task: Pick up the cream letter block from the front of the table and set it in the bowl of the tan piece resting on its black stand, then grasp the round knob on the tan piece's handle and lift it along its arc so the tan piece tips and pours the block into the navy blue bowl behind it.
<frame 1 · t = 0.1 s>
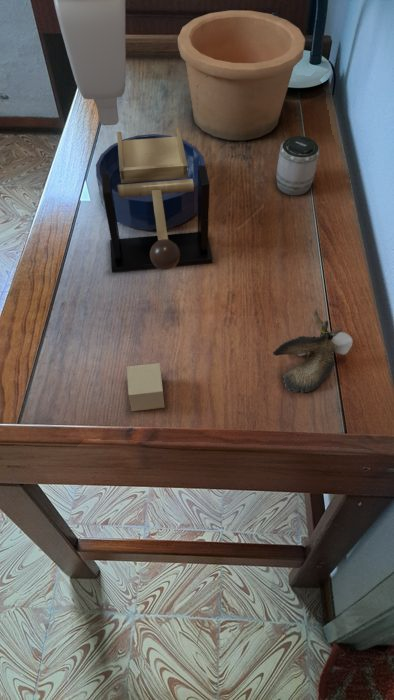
hand: (107, 94, 51), 28 cm above the table, tool pointing down, fingers open, 8 cm apart
tan piece: (157, 196, 67), point 12 cm above the table, hinge at 0.0°
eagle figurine: (306, 364, 66), on the table
stand: (160, 253, 77), on the table
navy blue bowl: (153, 196, 85), on the table
camera lens: (292, 186, 87), on the table
pottery: (235, 117, 99), on the table
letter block: (147, 395, 63), on the table
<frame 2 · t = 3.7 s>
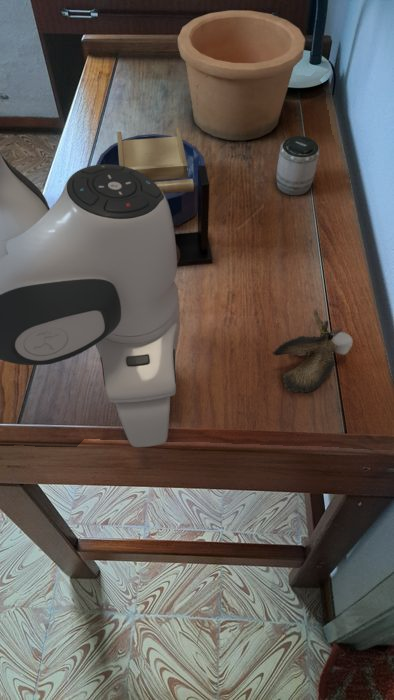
hand: (145, 389, 62), 2 cm above the table, tool pointing down, fingers closed on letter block, 4 cm apart
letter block: (147, 395, 63), on the table, touching gripper
everything else where it was.
when the fingers open (14 cm above the table, at t = 9.6 s): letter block stays where it is, resting on tan piece.
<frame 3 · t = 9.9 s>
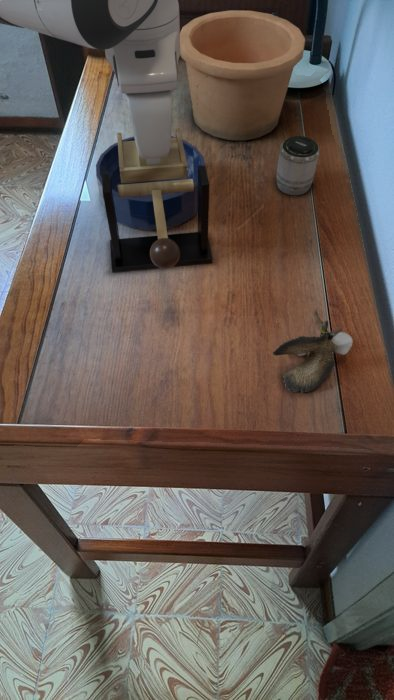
hand: (150, 146, 70), 14 cm above the table, tool pointing down, fingers open, 5 cm apart
tan piece: (156, 195, 67), point 12 cm above the table, hinge at 0.9°, touching gripper, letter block
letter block: (152, 157, 71), point 12 cm above the table, touching tan piece
everything else where it was.
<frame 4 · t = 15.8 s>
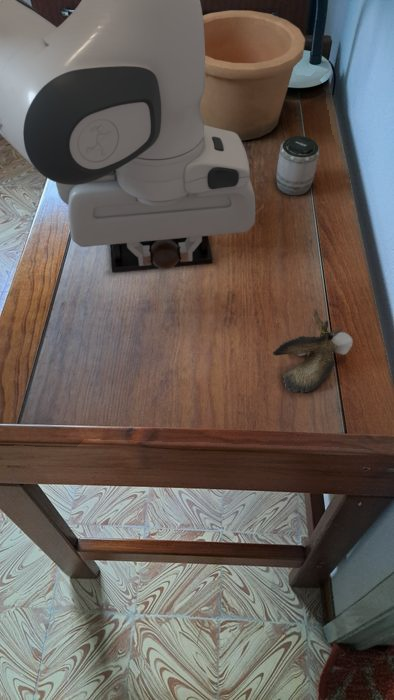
hand: (165, 259, 61), 11 cm above the table, tool pointing down, fingers closed on tan piece, 3 cm apart
tan piece: (156, 196, 67), point 12 cm above the table, hinge at 0.6°, touching gripper, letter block
everything else where it was.
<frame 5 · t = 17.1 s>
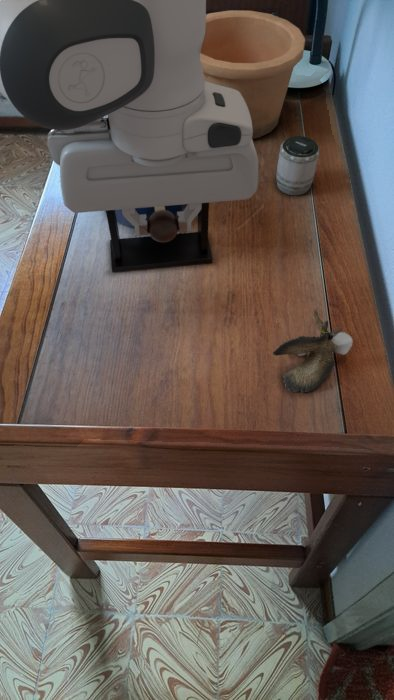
hand: (163, 230, 58), 15 cm above the table, tool pointing down, fingers closed on tan piece, 3 cm apart
tan piece: (156, 192, 66), point 13 cm above the table, hinge at 17.9°, touching gripper, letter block
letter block: (154, 170, 72), point 10 cm above the table, tilted 18°, touching tan piece
everything else where it was.
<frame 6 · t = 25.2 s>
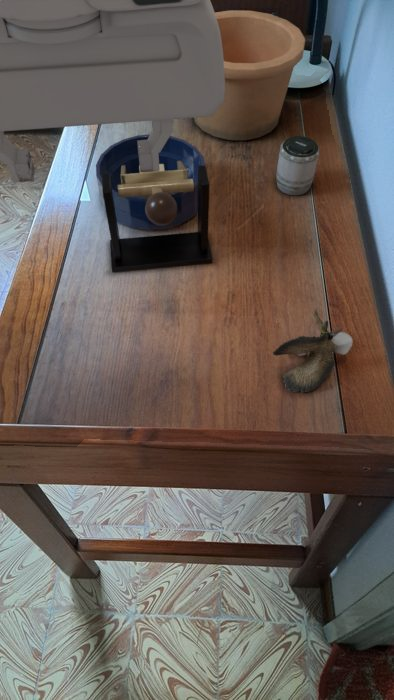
hand: (87, 172, 39), 31 cm above the table, tool pointing down, fingers open, 8 cm apart
tan piece: (156, 190, 66), point 13 cm above the table, hinge at 27.0°
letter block: (154, 190, 82), point 2 cm above the table, tilted 90°, touching navy blue bowl
everything else where it was.
at the end: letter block inside the target area in the navy blue bowl (1.6 cm from its centre), point 2.5 cm above the navy blue bowl's base; tan piece reached +39° during the clip, +27° at the end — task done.
